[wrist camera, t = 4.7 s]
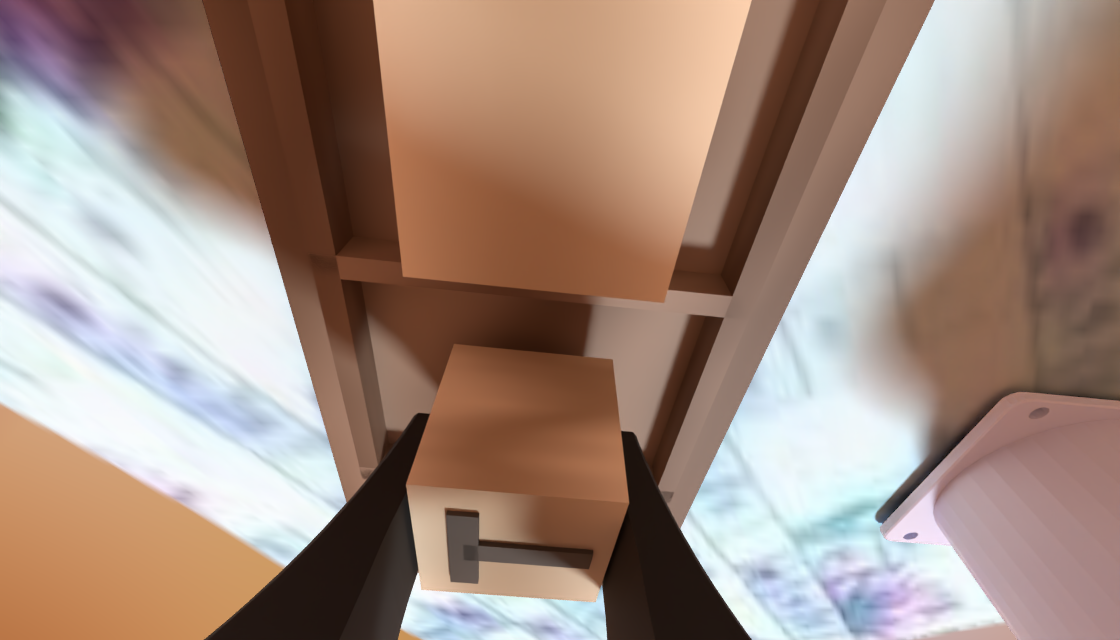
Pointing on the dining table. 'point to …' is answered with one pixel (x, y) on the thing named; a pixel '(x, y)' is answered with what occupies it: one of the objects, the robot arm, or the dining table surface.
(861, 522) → the dining table surface
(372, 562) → the robot arm
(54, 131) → the dining table surface
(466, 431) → the letter cube
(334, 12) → the organiser
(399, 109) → the blank cube
